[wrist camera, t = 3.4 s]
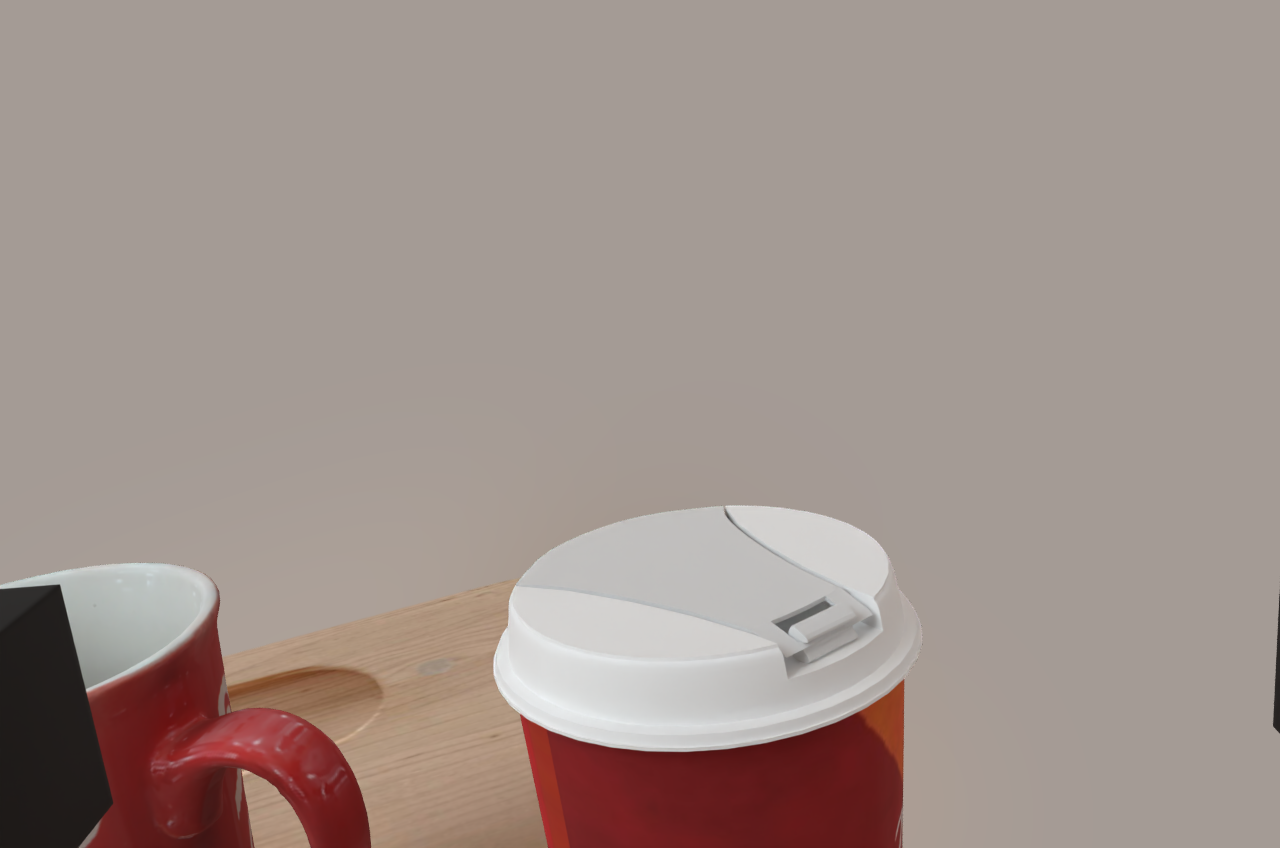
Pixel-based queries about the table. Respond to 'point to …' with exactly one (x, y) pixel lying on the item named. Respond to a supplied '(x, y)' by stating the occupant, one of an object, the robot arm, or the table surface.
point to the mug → (188, 719)
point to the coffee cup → (713, 682)
